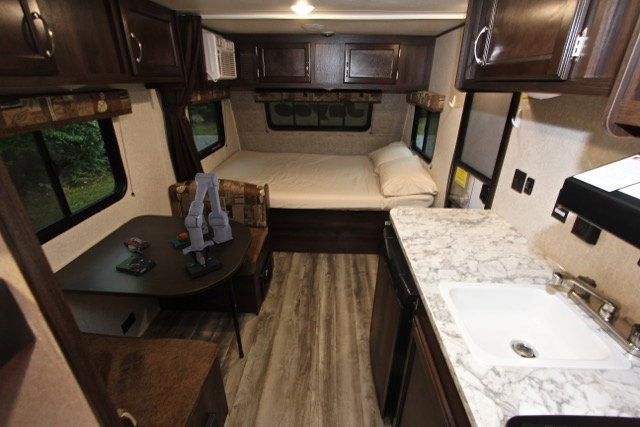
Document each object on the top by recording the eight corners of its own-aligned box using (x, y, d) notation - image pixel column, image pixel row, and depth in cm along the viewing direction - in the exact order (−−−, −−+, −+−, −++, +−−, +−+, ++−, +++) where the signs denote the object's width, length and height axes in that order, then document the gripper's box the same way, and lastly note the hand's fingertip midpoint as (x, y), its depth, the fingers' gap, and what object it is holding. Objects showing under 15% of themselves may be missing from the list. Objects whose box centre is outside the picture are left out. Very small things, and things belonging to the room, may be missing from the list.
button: (186, 234, 171) (185, 232, 171) (188, 237, 169) (187, 234, 168) (179, 236, 169) (178, 234, 168) (181, 239, 166) (180, 236, 166)
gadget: (211, 257, 157) (210, 252, 156) (220, 267, 149) (220, 262, 147) (184, 267, 149) (183, 262, 147) (193, 278, 140) (191, 273, 139)
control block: (192, 236, 177) (191, 230, 176) (198, 242, 171) (197, 236, 169) (171, 242, 170) (170, 236, 169) (176, 249, 164) (175, 243, 162)
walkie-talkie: (120, 246, 165) (142, 256, 157) (118, 240, 163) (140, 249, 155) (135, 240, 172) (157, 249, 164) (133, 233, 170) (155, 242, 162)
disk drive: (156, 264, 150) (133, 259, 154) (155, 260, 149) (132, 255, 153) (139, 276, 141) (115, 270, 145) (138, 272, 140) (114, 266, 144)
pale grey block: (197, 259, 150) (195, 252, 148) (200, 258, 151) (199, 251, 149) (201, 265, 145) (200, 257, 144) (205, 263, 147) (203, 256, 145)
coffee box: (209, 232, 181) (205, 209, 174) (198, 236, 177) (194, 212, 170) (203, 227, 187) (199, 204, 180) (193, 230, 183) (188, 207, 177)
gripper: (183, 246, 135) (189, 270, 141) (214, 236, 144) (218, 259, 149) (179, 240, 140) (184, 263, 146) (208, 231, 148) (212, 253, 154)
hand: (201, 261), depth 148 cm, fingers open, 4 cm apart
